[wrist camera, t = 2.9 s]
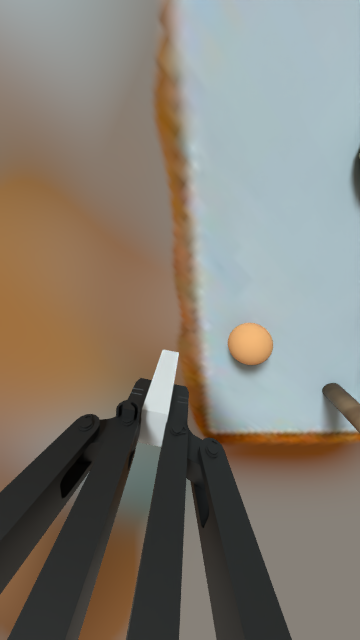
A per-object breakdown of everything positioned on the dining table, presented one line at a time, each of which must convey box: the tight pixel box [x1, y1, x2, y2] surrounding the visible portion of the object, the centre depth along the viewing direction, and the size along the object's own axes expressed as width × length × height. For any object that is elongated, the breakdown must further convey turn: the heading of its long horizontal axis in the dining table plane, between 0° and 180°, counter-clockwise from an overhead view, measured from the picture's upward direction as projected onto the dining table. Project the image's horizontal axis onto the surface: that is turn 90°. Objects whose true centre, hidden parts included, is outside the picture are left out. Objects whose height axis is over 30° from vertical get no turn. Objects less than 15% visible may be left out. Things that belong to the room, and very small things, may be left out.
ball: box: [228, 323, 273, 365], centre depth 23 cm, size 6×6×6 cm
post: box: [322, 383, 360, 433], centre depth 23 cm, size 3×3×9 cm
